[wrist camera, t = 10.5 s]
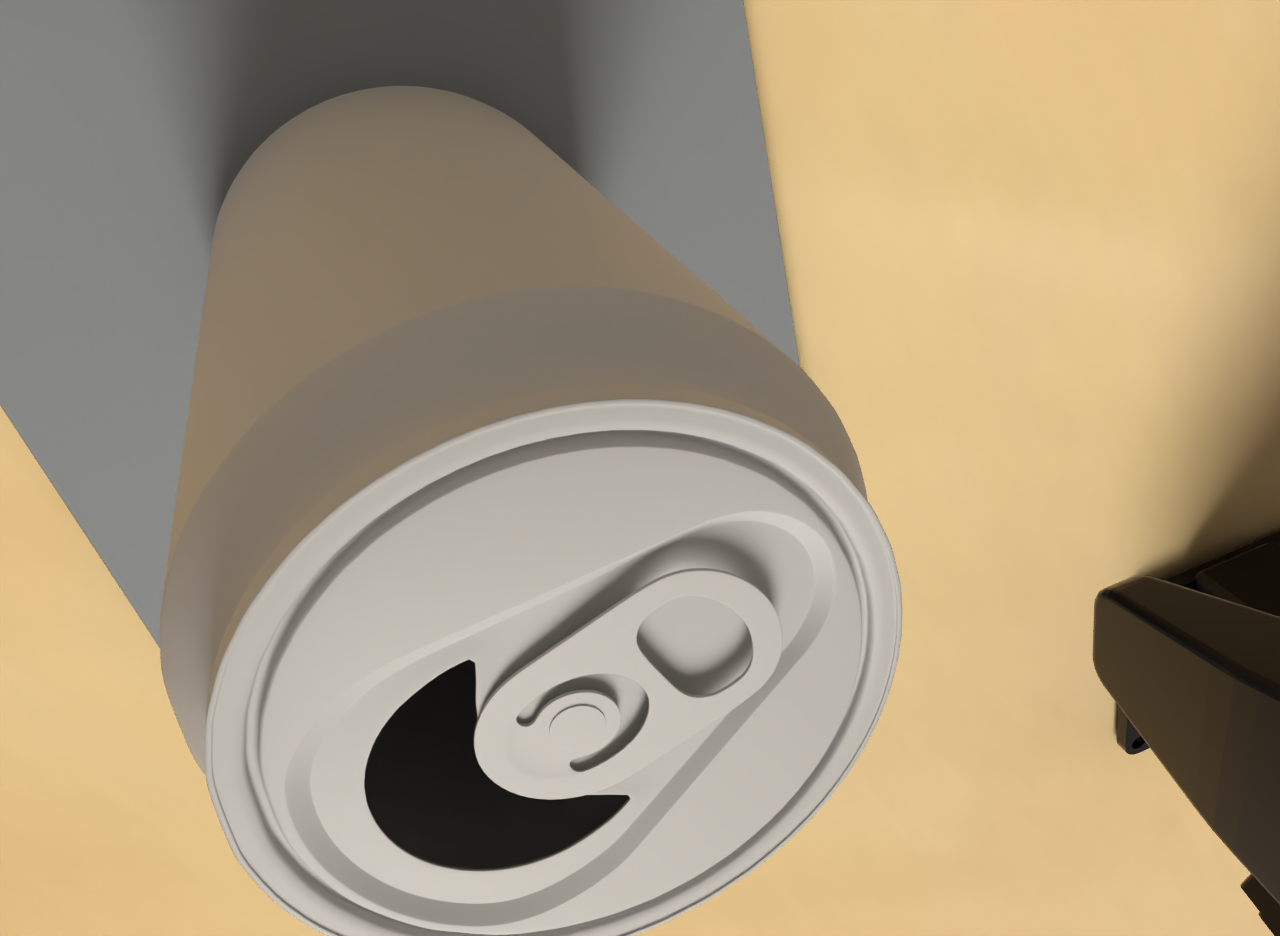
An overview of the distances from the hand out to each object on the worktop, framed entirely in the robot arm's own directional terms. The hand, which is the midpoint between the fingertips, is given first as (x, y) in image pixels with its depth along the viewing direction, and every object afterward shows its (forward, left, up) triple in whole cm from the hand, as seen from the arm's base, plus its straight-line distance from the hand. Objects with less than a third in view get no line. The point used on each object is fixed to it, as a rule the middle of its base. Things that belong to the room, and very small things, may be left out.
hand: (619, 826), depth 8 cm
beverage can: (+1, 0, -12) cm, 13 cm away
